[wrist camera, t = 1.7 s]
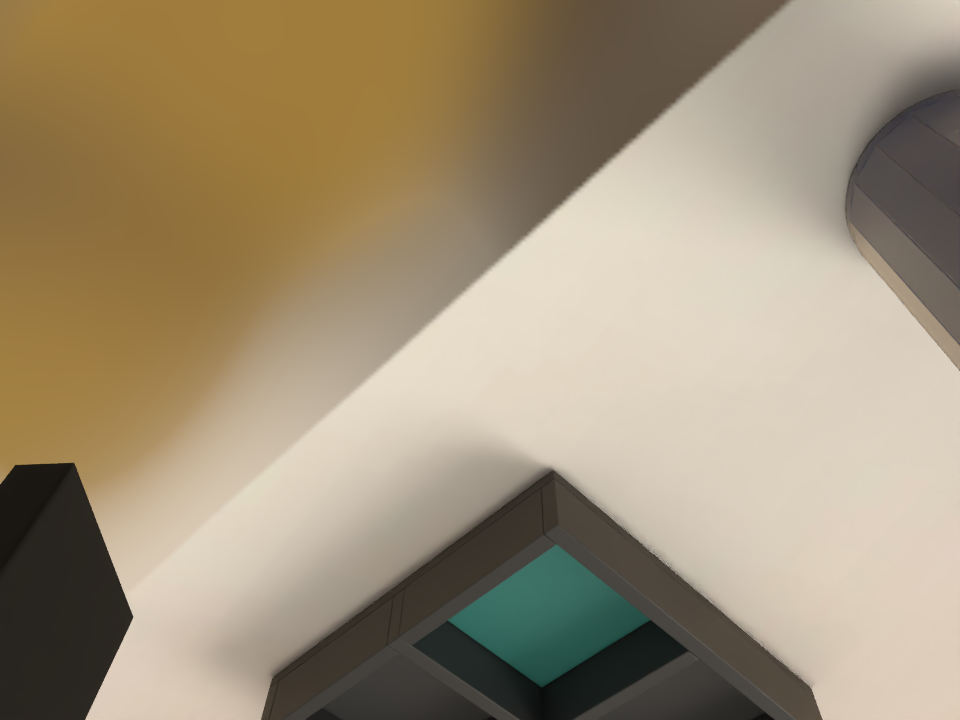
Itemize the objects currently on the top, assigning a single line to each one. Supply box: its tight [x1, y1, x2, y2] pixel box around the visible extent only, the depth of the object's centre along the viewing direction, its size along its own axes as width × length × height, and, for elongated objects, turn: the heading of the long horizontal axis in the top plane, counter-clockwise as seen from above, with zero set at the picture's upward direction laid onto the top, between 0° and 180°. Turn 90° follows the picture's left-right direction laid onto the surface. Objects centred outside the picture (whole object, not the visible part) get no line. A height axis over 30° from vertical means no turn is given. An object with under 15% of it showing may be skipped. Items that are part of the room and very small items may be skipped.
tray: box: [261, 470, 822, 720], centre depth 45 cm, size 20×20×4 cm
